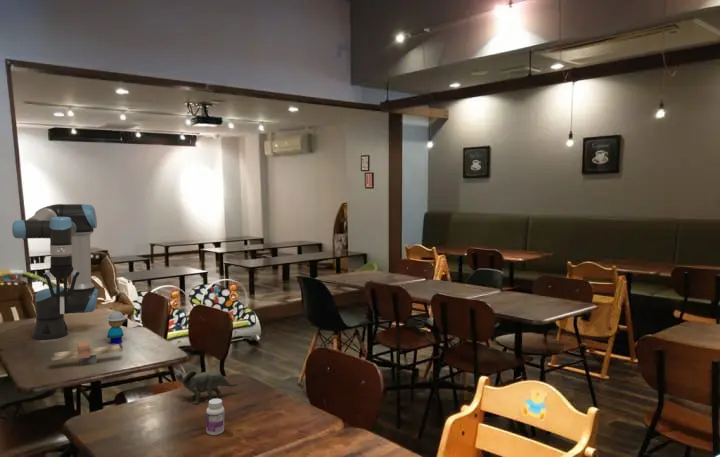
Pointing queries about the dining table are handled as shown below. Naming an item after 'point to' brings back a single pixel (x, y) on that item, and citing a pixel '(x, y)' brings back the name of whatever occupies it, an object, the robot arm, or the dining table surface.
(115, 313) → the toy
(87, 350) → the pink block
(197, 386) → the dinosaur figurine
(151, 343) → the dining table surface
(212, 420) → the pill bottle
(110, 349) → the beam
